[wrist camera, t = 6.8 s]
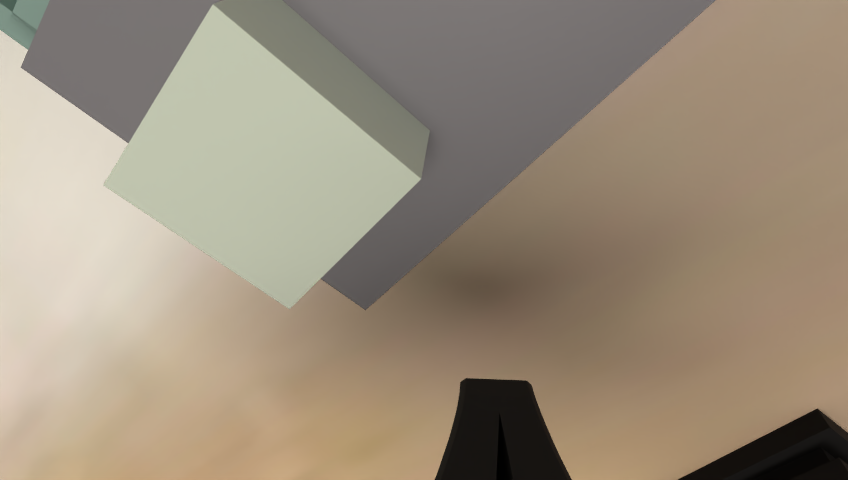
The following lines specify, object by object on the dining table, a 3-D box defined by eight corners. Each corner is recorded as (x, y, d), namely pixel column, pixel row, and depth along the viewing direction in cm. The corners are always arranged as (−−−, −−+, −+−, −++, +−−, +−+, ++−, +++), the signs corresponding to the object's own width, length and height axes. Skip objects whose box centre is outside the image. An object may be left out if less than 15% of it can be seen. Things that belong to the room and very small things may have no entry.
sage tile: (430, 130, 12) (421, 178, 10) (316, 248, 14) (289, 309, 12) (263, -17, 11) (213, 4, 8) (164, 137, 13) (103, 185, 11)
